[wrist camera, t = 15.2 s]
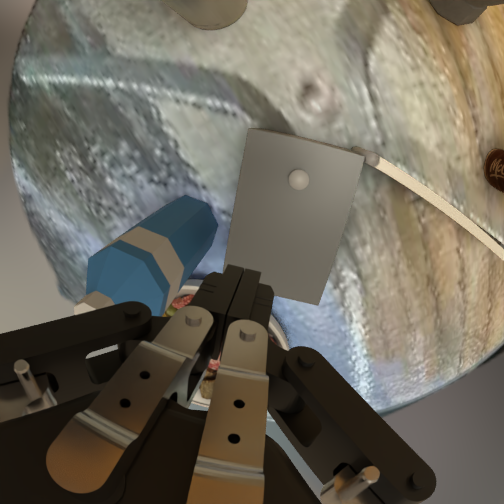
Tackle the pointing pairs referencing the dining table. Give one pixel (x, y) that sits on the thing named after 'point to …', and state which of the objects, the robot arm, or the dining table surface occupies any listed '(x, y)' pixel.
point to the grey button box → (291, 211)
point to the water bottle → (151, 258)
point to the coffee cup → (495, 168)
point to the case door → (431, 199)
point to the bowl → (208, 381)
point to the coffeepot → (462, 9)
